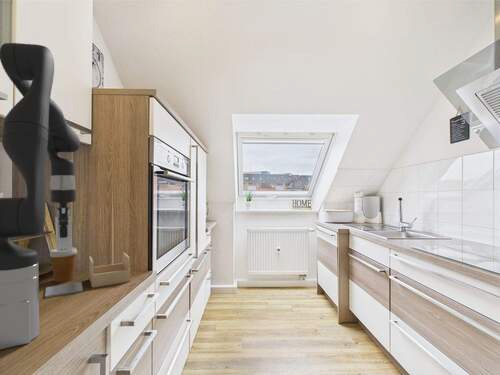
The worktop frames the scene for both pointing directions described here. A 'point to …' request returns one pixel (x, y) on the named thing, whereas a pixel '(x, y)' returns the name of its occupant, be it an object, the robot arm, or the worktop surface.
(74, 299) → the worktop surface
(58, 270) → the disposable coffee cup
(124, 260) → the wooden cubby shelf
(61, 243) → the skincare box
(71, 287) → the slate tile
